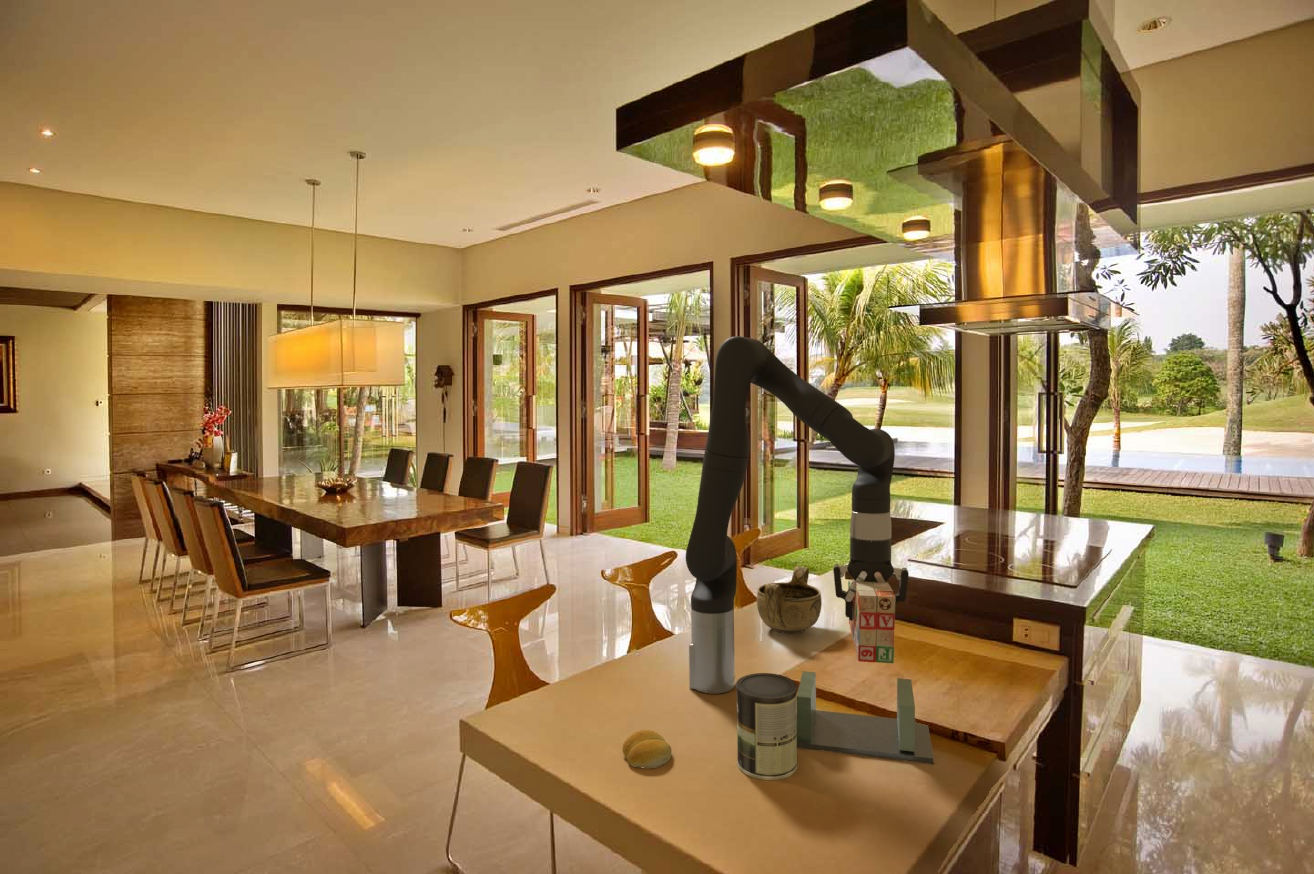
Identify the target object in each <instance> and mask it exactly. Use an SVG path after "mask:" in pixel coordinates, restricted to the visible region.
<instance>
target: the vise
mask: <svg viewBox="0 0 1314 874" xmlns="http://www.w3.org/2000/svg"><path fill="white" fill-rule="evenodd" d="M816 673H817V672H816V671H808V670H807V671H805V670H803V671H802V672H801V676H800V681H799V686H798V688H797V693H796V699H797V749H805V750H814V751H822V752H828V753H837V754H847V755H854V756H861V757H862V756H863V757H868V758H869V757H870V758H878V759H887V760H895V761H896V760H897V761H902V762H903V761H904V762H911V763H919V764H928V765H934V764H935V761H934V760H935V759H934V758H935V757H934V751H933V745H932V741H931V734H930V729H929V724H928V725H925V724H921V723H917V722H915V752H912V751H903V750H899V739H898V726H897V718H896V717H895V718H894V717H893V718H892V717H886V716H885V717H884V716H877V715H876V716H875V715H874V716H873V715H865V714H864V715H863V714H856V713H847V712H846V713H845V712H836V711H829V710H828V711H827V710H819V709H817V683H816V681H817V679H816V678H817V676H816V675H817V674H816Z"/></svg>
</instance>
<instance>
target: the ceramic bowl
mask: <svg viewBox="0 0 1314 874" xmlns="http://www.w3.org/2000/svg"><path fill="white" fill-rule="evenodd" d="M809 570H810V568H809V567H807V566H800V565H795V567H794V569H793V572H792V575H791V576H792V577H791V580H790V581H788V582H785V581H784V582H783V581H782V582H769V583H766V584H762V585H760V586H758V588H757V593H756V606H757V612H758V615H759V617H760V619H761V620H762V622H763V623H764V625H766V626H767V627H768V628H769V629H771V630H773V631H775V632H778V633H780V634H786V635H794V634H799V633H803V632H805V631H807V630H808V629H810V628H811V627H813V626H814V625H815V624H816V623H817V622H818V620H819V618H820V616H821V615H820V614H821V612H822V611H821V610H822V606H823V605H822V601H823V600H822V593H821V590H820V589H819V588H818V587H815V586H813V585H810V584H808V581H809V575H810V571H809Z"/></svg>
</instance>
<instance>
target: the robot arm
mask: <svg viewBox="0 0 1314 874" xmlns="http://www.w3.org/2000/svg"><path fill="white" fill-rule="evenodd" d="M713 381H714V384H713V398H712V407H711V412H710V413H711V414H710V420H709V425H708V432H707V437H706V442H705V443H706V444H705V448H704V449H705V450H704V453H703V455H704V456H703V461H702V465H701V466H702V467H701V475H700V481H699V489H698V497H697V506H696V512H695V516H694V521H693V525H692V529H691V531H690V537H689V539H688V543H687V545H686V549H685V550H686V551H685V564H686V567H687V569H688V571H689V573H690V575H692V577H694V578H695V584H694V588H693V590H692V593H691V595H690V619H691V621H690V622H691V623H690V626H691V628H690V629H691V630H690V631H691V642H690V643H689V646H688V662H689V663H688V664H689V665H688V668H689V673H688V675H689V679H688V680H689V689H691V690H692V689H693V690H696V691H698V692H701V693H704V694H711V695H712V694H715V695H717V694H724V693H728V692H729V691H732V690H733V689H735V687H736V682H735V681H736V680H735V678H736V674H735V673H736V672H735V607H734V606H735V605H734V604H735V603H734V602H735V597H736V593H737V586H738V585H737V584H738V583H737V579H738V577H737V576H738V575H737V574H738V573H737V572H738V554H737V553H738V552H737V548H736V545H735V543H734V541H733V539H732V538H731V537H730V536H728V530H729V529H728V528H729V524H730V520H731V519H730V518H731V516H732V513H733V510H734V508H735V505H736V502H737V500H739V495H740V494H741V491H742V488H743V485H744V482H745V478H746V474H747V470H748V464H749V463H748V462H749V459H750V458H749V457H750V451H751V450H750V449H751V440H750V436H749V434H750V433H749V427H748V421H747V414H746V413H747V412H746V411H747V400H748V396H749V392H750V391H749V390H750V386H751V384H753V385H755V386H757V387H759V388H761V389H762V390H764V391H767V392H768V393H770V394H772V395H773V396H774V397H775V398H777V399H778V400H779V401H780V402H782V403H783V404H784V405H785V406H786V408H787V409H788V410H789V411H790V412H791V413H792V414H793V415H794V416H795V417H796V418H798V420H799V421H801V422H802V423H803V424H805V425H806V426H807V427H809V428H810V429H811V430H813V431H814V432H816V433H817V434H818V435H819V436H821V437H823V438H825V439H826V440H828V441H829V442H830V444H831V445H832V446H833V447H834V448H835V449H836V450H837V451H839V452H840V454H841V455H842V456H844V457H845V458H846V459H847V460H848V461H850V462H851V463H852V464H854V465H856V466H857V475H856V476H857V478H856V479H855V481H854V482H853V485H852V488H851V513H850V524H849V547H850V548H849V562H848V563H847V565H840V564H838V563H835V564H834V565H833V568H832V569H833V570H832V571H833V581H834V590H835V596H836V598H839V599H842V600H844V602H845V605H844V607H845V608H844V609H845V612H844V615H845V617H846V618H848V621H849V620H850V621H853V597H854V595H855V592H856V584H855V582H858V581H859V582H863V581H868V582H878V583H886V582H887V583H888V581H889V580H890V578H891V577H892V576H893V574H894V575H895V576H896V579H897V580H898V581H899V584H898V592H897V593H895V594H894V595H895V605H897V603H901V602H903V603H904V602H906V599H907V593H908V591H907V590H908V582H909V581H908V580H909V571H908V568H907V567H902V568H899V567H894V566H893V563H892V533H893V532H892V531H893V530H892V518H891V482H892V478H893V472H894V465H895V458H896V457H895V455H896V453H895V450H896V449H895V442H894V440H893V438H892V437H891V435H890V434H889V433H888V432H887V431H886V430H883V429H879V428H872V429H870V428H868V427H866V426H864V424H862V423H860V422H859V421H858V420H856V419H855V418H854V415H853V413H852V412H851V411H850V410H849V409H847V408H846V407H845V406H844V405H843V404H840V403H839V402H838V401H836V400H835V399H833V398H832V397H830V396H829V395H828V394H826V393H824V392H823V391H822V390H820V389H818V388H817V387H815V386H814V385H812V384H811V383H809V382H807V381H806V380H805V379H803V378H802V377H801V376H800V375H797V374H796V373H795V372H794V371H793V370H792V369H790V368H789V367H788V366H787V365H786V364H784V363H783V361H781V360H780V359H779V358H778V357H777V356H776V355H775V354H774V353H773V352H772V351H771V349H769V348H768V347H767V346H766V345H765V344H764V343H763V342H761V341H760V340H758V339H755V338H751V337H745V336H741V335H740V336H737V335H735V336H730V337H729V338H726V340H724V341H723V342H722V343H721V345H720V347H719V348H718V351H717V355H716V357H715V367H714V380H713ZM846 572H847V573H849V575H850V576H851V577H852V580H853V579H854V580H855V582H854V584H853V581H852V583H851V585H850V587H849V589H847V591H846V590H844V589H843V584H842V578H844V577H845V574H846Z"/></svg>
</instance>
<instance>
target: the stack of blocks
mask: <svg viewBox="0 0 1314 874" xmlns="http://www.w3.org/2000/svg"><path fill="white" fill-rule="evenodd" d="M852 581H853V584H854V582H855V580H854V579H853V578H852V579H848V581H847V582H848V586H847V587H848V589H849V587H850V585H851V583H852ZM855 584H856V592H855V595H854V597H853V621H850V620H849V619H848V624H849V629H850V634H851V637H852V638H853V643H854V648H855V653H856V657H857V661H858V662H862V663H881V664H894V663H895V662H894V660H895V658H894V657H895V645H894V644H895V627H896V626H895V625H896V604H895V595H894V592H893V591H894V590H893V589H892V587H891V585H890V583H889V582H888V581H887V582H886V583H878V582H868V581H863V582H859V581H858V582H855ZM848 589H847V590H848Z"/></svg>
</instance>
